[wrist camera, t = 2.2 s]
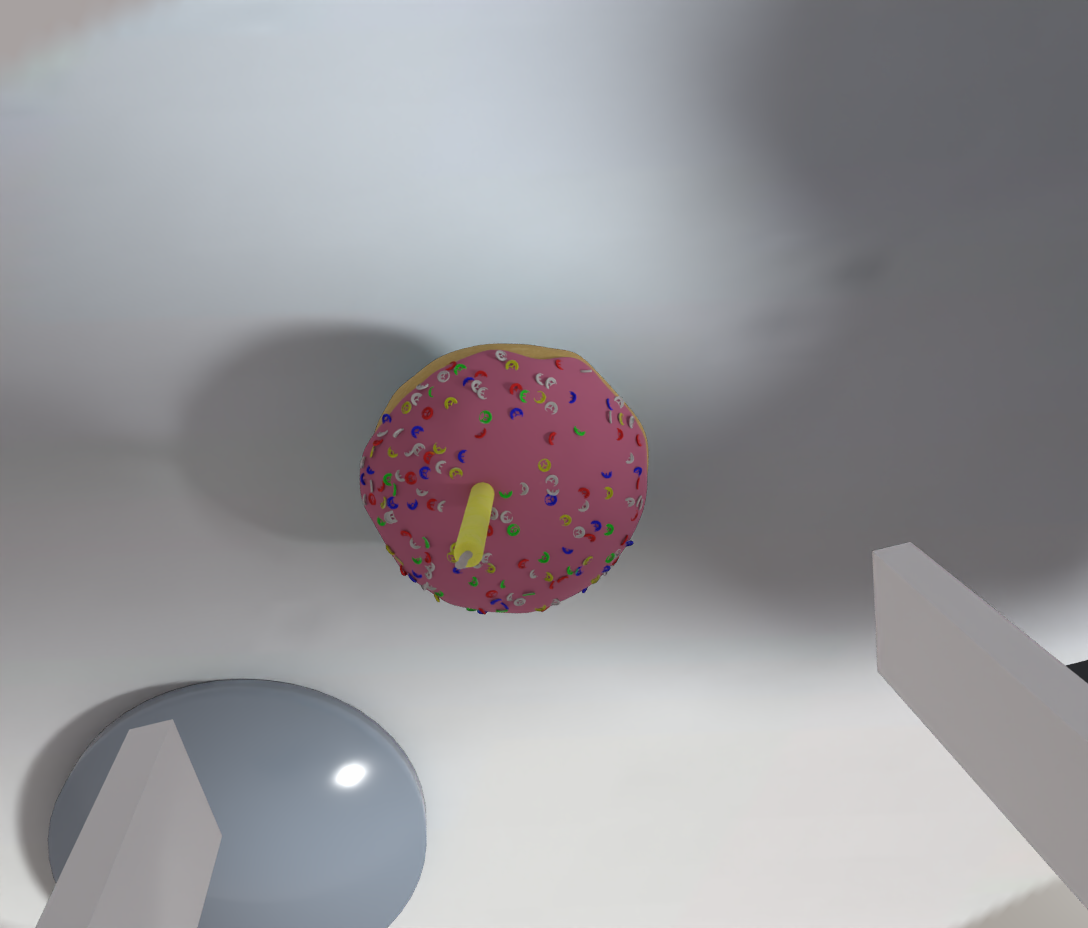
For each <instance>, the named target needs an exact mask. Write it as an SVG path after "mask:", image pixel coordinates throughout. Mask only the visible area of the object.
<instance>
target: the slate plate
mask: <svg viewBox="0 0 1088 928" xmlns="http://www.w3.org/2000/svg"><path fill="white" fill-rule="evenodd" d="M171 719H173V721H174V723H175V726H176V728H177V731H178V733H179V735H180V738H181V740H182V742H183V745H184V747H185V749H186V752H187V754H188V757H189V759H190V761H191V764H192V766H193V768H194V771H195V773H196V775H197V778H198V780H199V783H200V785H201V787H202V790H203V792H204V794H205V797H206V799H207V801H208V804H209V806H210V809H211V811H212V813H213V816H214V818H215V820H216V823H217V825H218V827H219V830H220V832H221V835H222V838H221V842H220V845H219V849H218V853H217V857H216V860H215V864H214V868H213V872H212V875H211V879H210V883H209V886H208V890H207V894H206V898H205V901H204V905H203V909H202V913H201V916H200V920H199V924H198V927H197V928H388V927H389V925H390V924H391V923H392V922H393V921H394V920H395V919H396V917H397V916H398V915H399V914H400V913H401V912H402V910H403V908H404V907H405V905H406V904H407V902H408V901H409V899H410V898H411V896H412V894H413V892H414V890H415V888H416V886H417V884H418V881H419V879H420V875H421V872H422V869H423V865H424V861H425V853H426V805H425V800H424V795H423V790H422V786H421V784H420V781H419V779H418V776H417V774H416V771H415V769H414V767H413V765H412V764H411V762H410V760H409V759H408V757H407V755H406V754H405V752H404V751H403V750H402V748H401V747H400V746H399V745H398V743H397V742H396V741H395V740H394V739H393V737H392V736H391V735H389V734H388V733H387V732H386V731H385V730H384V729H383V728H382V727H381V726H380V725H379V724H378V723H376V722H375V721H374V720H372V719H371V718H369V717H368V716H367V715H365V714H364V713H362V712H361V711H360V710H358V709H356V708H354V707H352V706H350V705H349V704H347V703H345V702H343V701H341V700H339V699H337V698H334V697H332V696H329V695H327V694H324V693H322V692H319V691H317V690H313V689H309V688H305V687H302V686H298V685H294V684H289V683H282V682H276V681H269V680H249V679H237V680H221V681H213V682H207V683H201V684H195V685H190V686H187V687H183V688H180V689H177V690H173V691H170V692H167V693H164V694H162V695H160V696H157V697H155V698H152V699H150V700H148V701H145V702H143V703H142V704H140V705H138V706H136V707H135V708H133V709H131V710H129V711H128V712H126V713H124V714H123V715H122V716H120V717H119V718H118V719H116V720H115V721H114V722H112V723H111V724H110V725H108V726H107V727H106V728H105V729H104V730H103V731H102V732H101V733H100V734H99V735H98V736H97V737H96V738H95V739H94V740H93V741H92V742H91V743H90V744H89V746H88V747H87V748H86V750H85V751H84V753H83V754H82V755H81V757H80V758H79V759H78V761H77V763H76V765H75V766H74V768H73V770H72V772H71V774H70V775H69V777H68V779H67V781H66V783H65V785H64V787H63V789H62V790H61V792H60V794H59V796H58V798H57V800H56V803H55V806H54V810H53V813H52V816H51V820H50V827H49V835H48V849H49V861H50V865H51V869H52V873H53V877H54V880H55V882H56V883H57V881H58V879H59V877H60V875H61V873H62V870H63V868H64V866H65V864H66V862H67V860H68V858H69V856H70V854H71V851H72V849H73V847H74V845H75V843H76V841H77V839H78V837H79V835H80V832H81V830H82V828H83V826H84V824H85V822H86V820H87V818H88V816H89V813H90V811H91V809H92V807H93V805H94V803H95V801H96V799H97V797H98V795H99V792H100V790H101V788H102V786H103V784H104V782H105V780H106V778H107V776H108V773H109V771H110V769H111V767H112V765H113V763H114V761H115V759H116V757H117V754H118V752H119V750H120V748H121V746H122V744H123V742H124V740H125V738H126V735H127V733H128V731H129V730H130V729H134V728H138V727H142V726H146V725H150V724H155V723H159V722H163V721H167V720H171Z"/></svg>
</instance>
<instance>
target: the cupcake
mask: <svg viewBox="0 0 1088 928" xmlns="http://www.w3.org/2000/svg"><path fill="white" fill-rule="evenodd" d="M647 472H648V443H647V438H646V435H645V432H644V429H643V427H642V425H641V423H640V421H639V420H638V418H637V417H636V416H635V414H634V413H633V412H632V410H631V409H630V408H629V407H628V406H627V405H626V403H625V402H624V400H623V398H622V397H620V396H619V395H618V394H617V393H616V392H615V391H614V390H613V389H612V387H611V386H610V385H609V384H608V383H607V382H606V381H605V380H604V379H603V378H602V377H601V375H600V374H599V373H598V372H597V371H596V370H595V369H594V368H593V367H592V366H591V365H590V364H589V363H588V362H587V361H586V360H585V359H583V358H582V357H581V356H579V355H577V354H576V353H573V352H570V351H566V350H560V349H553V348H547V347H541V346H534V345H525V344H485V345H478V346H473V347H468V348H464V349H460V350H457V351H454V352H451V353H448V354H446V355H444V356H441V357H439V358H437V359H436V360H434V361H433V362H431V363H430V364H428V365H427V366H426V367H424V368H423V369H422V370H421V371H419V372H418V373H417V374H416V375H414V376H413V377H412V378H411V379H409V380H408V381H407V382H405V383H404V384H403V385H402V386H401V387H400V388H399V389H398V390H397V391H396V392H395V393H394V395H393V396H392V398H391V399H390V401H389V403H388V405H387V407H386V408H385V410H384V412H383V414H382V416H381V418H380V420H379V422H378V424H377V426H376V429H375V433H374V435H373V436H372V438H371V439H370V441H369V442H368V444H367V446H366V448H365V450H364V453H363V456H362V459H361V461H360V491H361V497H362V501H363V504H364V506H365V509H366V511H367V512H368V514H369V516H370V517H371V519H372V521H373V522H374V524H375V526H376V528H377V530H378V531H379V533H380V535H381V537H382V539H383V540H384V542H385V544H386V549H387V551H388V552H389V553H390V554H391V555H392V556H393V557H394V559H395V560H396V562H397V563H398V565H399V566H400V571H401V573H402V575H403V576H406V575H408V576H409V578H410V579H411V580H412V581H413V582H415V583H416V582H417V583H418V584H420V585H421V587H422V589H423V590H426V589H427V590H428V591H430V592H431V593H433V594H434V596H435V599H436V600H437V602H440V599H439V598H441V599H442V600H444V601H445V602H447V603H450V604H453V605H456V606H460V607H465V608H466V609H467V610H468V611H476V610H477V612H478V613H479V614H486V613H487V612H501V613H529V612H534V611H541V612H543V611H545V610H546V609H548V608H549V607H550V606H552V605H558V604H559V603H560V601H563V600H565V599H567V598H569V597H571V596H573V595H575V594H577V593H579V592H580V591H582V593H585V592H586V590H587V588H588V586H590V585H591V584H594V583H596V582H597V581H598V580H599V578H600V576H601V575H602V574H603V575H604V576H605V575H606V574H607V572H608V571H609V570H610V566H611V565H614V564H615V563H616V562H617V560H618V558H619V555H620V554H621V553H622V551H623V550H624V548H625V547H626V546H631V545H633V541H629V540H630V538H631V536H632V535H633V533H634V531H635V529H636V526H637V524H638V522H639V520H640V517H641V515H642V512H643V509H644V505H645V500H646V493H647ZM403 571H404V572H403ZM469 608H470V609H469Z"/></svg>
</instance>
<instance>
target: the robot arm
mask: <svg viewBox="0 0 1088 928" xmlns="http://www.w3.org/2000/svg"><path fill="white" fill-rule="evenodd" d="M872 559H873V581H874V603H875V625H876V647H877V669H878V672H879V674H880V675H881V676H882V677H883V678H884V679H885V680H886V682H887V683H888V684H889V685H890V686H891V687H892V688H893V690H894V691H895V692H896V693H897V694H898V695H899V696H900V697H901V699H902V700H903V701H904V702H905V703H906V704H907V705H908V707H909V708H910V709H911V710H912V711H913V712H914V713H915V714H916V716H917V717H918V718H919V719H920V720H921V721H922V722H923V724H924V725H925V726H926V727H927V728H928V729H929V730H930V731H931V733H932V734H933V735H934V736H935V737H936V738H937V739H938V741H939V742H940V743H941V744H942V745H943V746H944V747H945V748H946V750H947V751H948V752H949V753H950V754H951V755H952V756H953V758H954V759H955V760H956V761H957V762H958V763H959V764H960V765H961V767H962V768H963V769H964V770H965V771H966V772H967V773H968V775H969V776H970V777H971V778H972V779H973V780H974V781H975V782H976V784H977V785H978V786H979V787H980V788H981V789H982V790H983V792H984V793H985V794H986V795H987V796H988V797H989V798H990V799H991V801H992V802H993V803H994V804H995V805H996V806H997V807H998V809H999V810H1000V811H1001V812H1002V813H1003V814H1004V815H1005V816H1006V818H1007V819H1008V820H1009V821H1010V822H1011V823H1012V824H1013V826H1014V827H1015V828H1016V829H1017V830H1018V831H1019V832H1020V833H1021V835H1022V836H1023V837H1024V838H1025V839H1026V840H1027V841H1028V843H1029V844H1030V845H1031V846H1032V847H1033V848H1034V849H1035V850H1036V852H1037V853H1038V854H1039V855H1040V856H1041V857H1042V858H1043V860H1044V861H1045V862H1046V863H1047V864H1048V865H1049V866H1050V868H1051V869H1052V870H1053V871H1054V872H1055V873H1056V874H1057V875H1058V877H1059V878H1060V879H1061V880H1062V881H1063V882H1064V883H1065V885H1066V886H1067V887H1068V888H1069V889H1070V890H1071V891H1072V892H1073V893H1074V895H1075V896H1076V897H1077V898H1078V899H1079V900H1080V901H1081V903H1082V904H1083V905H1084V906H1085V907H1086V908H1087V909H1088V660H1086V661H1082V662H1078V663H1074V664H1070V665H1066V666H1065V665H1064V664H1063V663H1061V662H1060V661H1059V660H1058V659H1056V658H1055V657H1054V656H1053V655H1051V654H1050V653H1049V652H1048V651H1046V650H1045V649H1044V648H1043V647H1041V646H1040V645H1039V644H1038V643H1036V642H1035V641H1034V640H1033V639H1031V638H1030V637H1029V636H1028V635H1026V634H1025V633H1024V632H1023V631H1021V630H1020V629H1019V628H1018V627H1016V626H1015V625H1014V624H1013V623H1011V622H1010V621H1009V620H1008V619H1006V618H1005V617H1004V616H1003V615H1001V614H1000V613H999V612H998V611H996V610H995V609H994V608H993V607H991V606H990V605H989V604H988V603H986V602H985V601H984V600H983V599H981V598H980V597H979V596H978V595H976V594H975V593H974V592H973V591H971V590H970V589H969V588H968V587H966V586H965V585H964V584H963V583H961V582H960V581H959V580H958V579H956V578H955V577H954V576H953V575H951V574H950V573H949V572H948V571H946V570H945V569H944V568H943V567H941V566H940V565H939V564H938V563H936V562H935V561H934V560H933V559H931V558H930V557H929V556H928V555H926V554H925V553H924V552H923V551H921V550H920V549H919V548H918V547H916V546H915V545H914V544H913V543H911V542H907V543H903V544H899V545H895V546H891V547H887V548H882V549H878V550H874V551H872ZM221 838H222V835H221V832H220V830H219V827H218V825H217V823H216V820H215V818H214V816H213V813H212V811H211V809H210V806H209V804H208V801H207V799H206V797H205V794H204V792H203V790H202V787H201V785H200V783H199V780H198V778H197V775H196V773H195V771H194V768H193V766H192V764H191V761H190V759H189V757H188V754H187V752H186V749H185V747H184V745H183V742H182V740H181V738H180V735H179V733H178V731H177V728H176V726H175V723H174V721H173V719H171V720H167V721H163V722H159V723H155V724H150V725H146V726H142V727H138V728H134V729H130V730H129V731H128V733H127V735H126V738H125V740H124V742H123V744H122V746H121V748H120V750H119V752H118V754H117V757H116V759H115V761H114V763H113V765H112V767H111V769H110V771H109V773H108V776H107V778H106V780H105V782H104V784H103V786H102V788H101V790H100V792H99V795H98V797H97V799H96V801H95V803H94V805H93V807H92V809H91V811H90V813H89V816H88V818H87V820H86V822H85V824H84V826H83V828H82V830H81V832H80V835H79V837H78V839H77V841H76V843H75V845H74V847H73V849H72V851H71V854H70V856H69V858H68V860H67V862H66V864H65V866H64V868H63V870H62V873H61V875H60V877H59V879H58V881H57V883H56V885H55V887H54V889H53V892H52V894H51V896H50V898H49V900H48V902H47V904H46V906H45V908H44V911H43V913H42V915H41V917H40V919H39V921H38V923H37V925H36V927H35V928H197V927H198V924H199V920H200V916H201V913H202V909H203V905H204V901H205V898H206V894H207V890H208V886H209V883H210V879H211V875H212V872H213V868H214V864H215V860H216V857H217V853H218V849H219V845H220V842H221Z"/></svg>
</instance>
